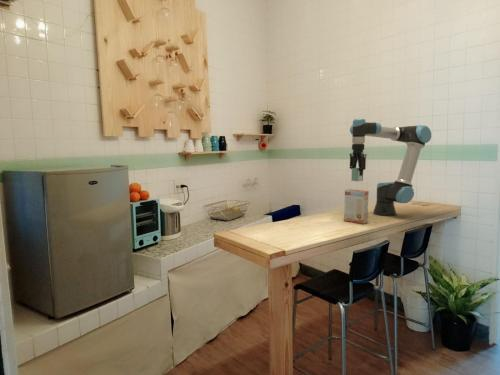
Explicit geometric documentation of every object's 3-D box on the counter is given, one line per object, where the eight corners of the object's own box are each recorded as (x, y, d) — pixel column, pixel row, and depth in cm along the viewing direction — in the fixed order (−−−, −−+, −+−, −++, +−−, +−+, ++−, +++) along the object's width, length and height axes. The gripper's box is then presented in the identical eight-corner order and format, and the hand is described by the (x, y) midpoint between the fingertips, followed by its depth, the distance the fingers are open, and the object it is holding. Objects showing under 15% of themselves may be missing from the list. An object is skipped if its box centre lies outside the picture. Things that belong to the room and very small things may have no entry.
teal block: (357, 180, 218) (358, 167, 217) (362, 180, 213) (363, 168, 212) (351, 180, 216) (351, 168, 215) (356, 181, 212) (356, 168, 211)
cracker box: (367, 223, 215) (369, 190, 212) (362, 224, 211) (364, 191, 208) (348, 219, 225) (349, 188, 223) (343, 220, 221) (344, 189, 219)
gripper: (344, 143, 219) (343, 179, 222) (363, 143, 202) (361, 181, 205) (353, 143, 221) (352, 178, 224) (372, 143, 205) (371, 181, 208)
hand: (356, 180), depth 215 cm, fingers closed on teal block, 5 cm apart
